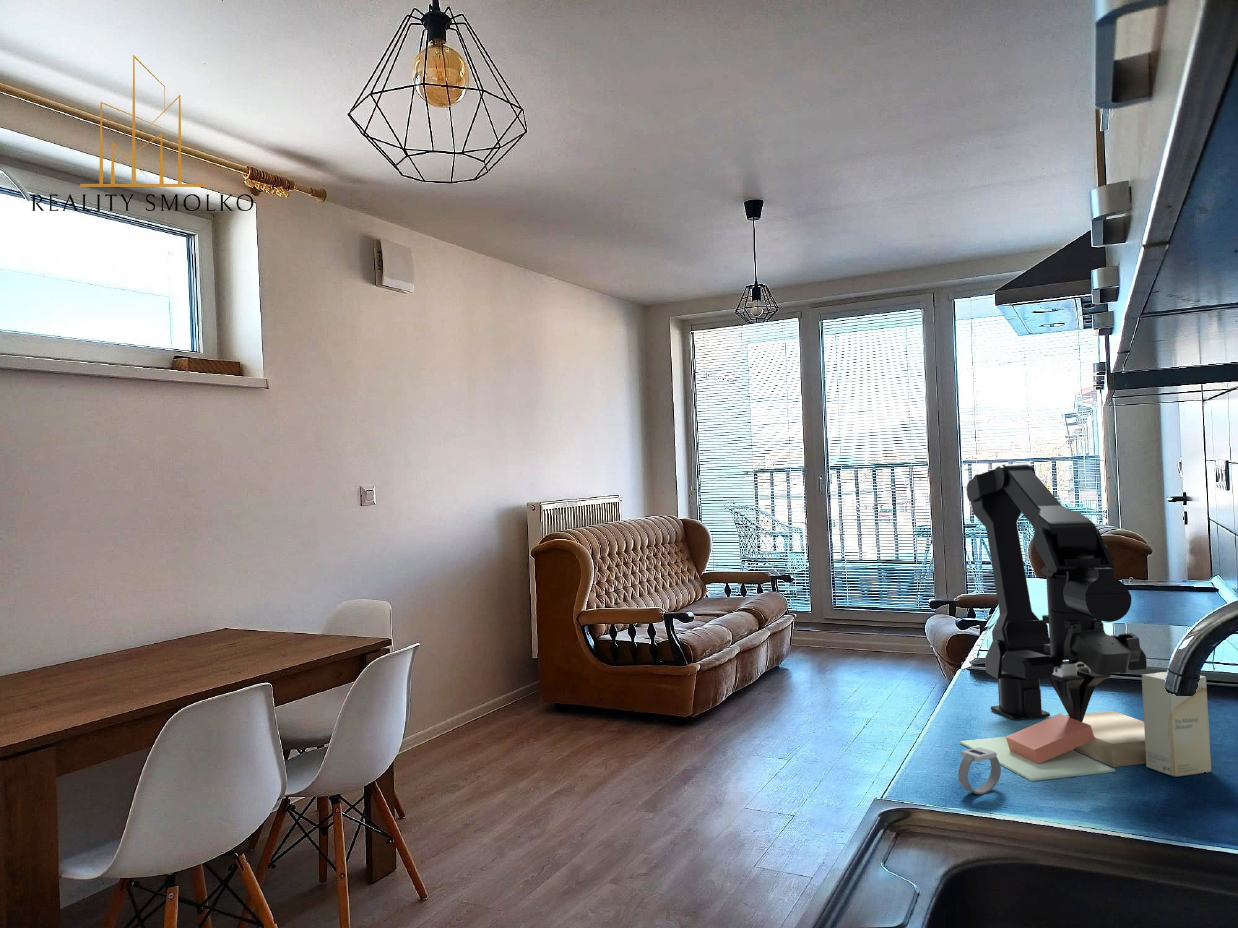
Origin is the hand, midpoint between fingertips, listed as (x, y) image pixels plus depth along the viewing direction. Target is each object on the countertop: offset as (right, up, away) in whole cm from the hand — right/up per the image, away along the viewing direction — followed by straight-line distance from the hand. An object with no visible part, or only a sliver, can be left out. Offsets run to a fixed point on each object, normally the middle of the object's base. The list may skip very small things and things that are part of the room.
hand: (1076, 722), depth 118 cm
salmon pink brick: (-4, -2, -1) cm, 5 cm away
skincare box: (+9, -4, -8) cm, 13 cm away
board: (+6, -4, +1) cm, 7 cm away
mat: (-7, -4, -1) cm, 8 cm away
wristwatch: (-19, -5, -13) cm, 23 cm away
